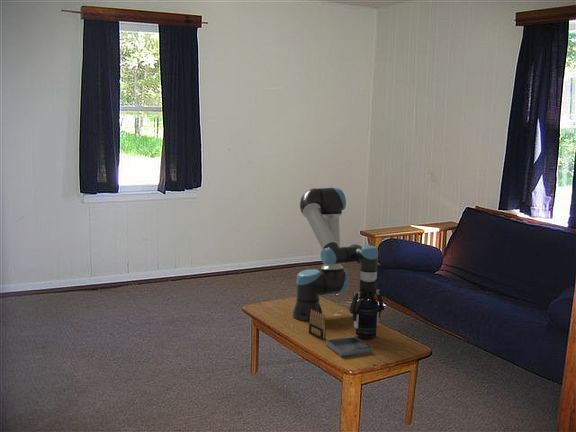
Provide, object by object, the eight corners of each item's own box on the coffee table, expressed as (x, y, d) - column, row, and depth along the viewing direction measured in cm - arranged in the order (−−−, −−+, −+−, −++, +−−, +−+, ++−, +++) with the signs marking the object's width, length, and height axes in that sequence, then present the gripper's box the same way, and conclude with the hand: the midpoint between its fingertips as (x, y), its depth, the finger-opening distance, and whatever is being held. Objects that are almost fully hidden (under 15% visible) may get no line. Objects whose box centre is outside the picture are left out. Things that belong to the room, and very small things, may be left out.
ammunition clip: (325, 339, 302) (326, 314, 300) (322, 340, 301) (323, 314, 299) (311, 332, 311) (312, 308, 309) (308, 333, 310) (309, 308, 308)
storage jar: (371, 329, 312) (372, 298, 309) (380, 336, 303) (381, 305, 300) (351, 331, 309) (352, 300, 306) (360, 338, 300) (361, 307, 297)
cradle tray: (325, 345, 294) (326, 340, 293) (355, 341, 300) (355, 336, 299) (341, 357, 280) (341, 351, 280) (372, 352, 286) (372, 347, 286)
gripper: (350, 284, 293) (348, 331, 297) (393, 279, 302) (391, 325, 306) (342, 279, 300) (340, 326, 304) (385, 275, 309) (382, 320, 313)
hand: (366, 326), depth 305 cm, fingers closed on storage jar, 10 cm apart
